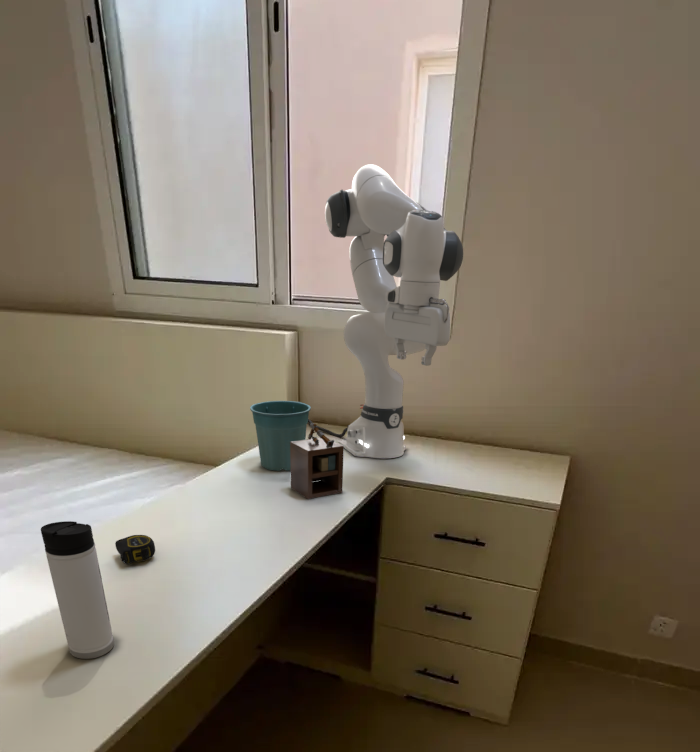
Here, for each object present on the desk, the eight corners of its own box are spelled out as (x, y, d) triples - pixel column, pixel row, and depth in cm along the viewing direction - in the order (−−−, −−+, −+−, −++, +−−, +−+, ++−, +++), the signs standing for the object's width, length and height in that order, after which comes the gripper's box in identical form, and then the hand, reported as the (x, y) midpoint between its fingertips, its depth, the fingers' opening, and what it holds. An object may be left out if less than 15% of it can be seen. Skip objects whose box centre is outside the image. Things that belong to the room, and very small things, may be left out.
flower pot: (259, 476, 162) (256, 415, 154) (247, 458, 176) (244, 401, 167) (317, 472, 167) (318, 412, 159) (302, 455, 180) (302, 399, 172)
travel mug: (58, 655, 88) (26, 528, 78) (90, 632, 94) (63, 511, 84) (92, 665, 87) (64, 537, 77) (123, 641, 92) (100, 519, 82)
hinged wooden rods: (309, 435, 151) (314, 420, 147) (329, 455, 148) (334, 439, 145) (304, 436, 149) (308, 421, 146) (323, 456, 147) (329, 441, 144)
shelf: (290, 488, 155) (290, 441, 149) (324, 482, 160) (324, 437, 154) (308, 499, 148) (308, 450, 142) (342, 493, 153) (343, 445, 147)
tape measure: (116, 554, 118) (113, 536, 116) (152, 548, 121) (149, 531, 119) (122, 568, 113) (119, 550, 111) (159, 562, 116) (157, 544, 114)
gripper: (460, 299, 129) (452, 368, 136) (403, 293, 144) (398, 355, 151) (438, 299, 126) (431, 369, 133) (381, 293, 141) (377, 356, 148)
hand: (413, 362), depth 142 cm, fingers open, 8 cm apart
